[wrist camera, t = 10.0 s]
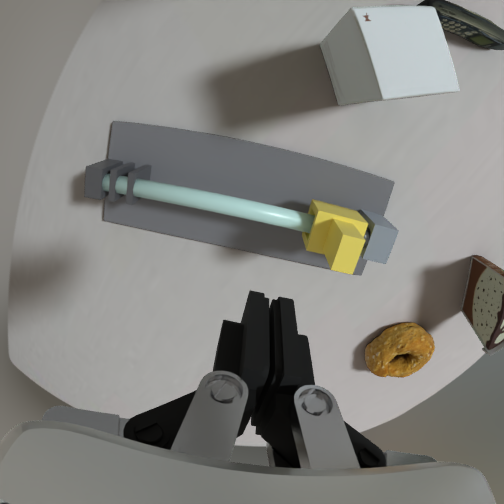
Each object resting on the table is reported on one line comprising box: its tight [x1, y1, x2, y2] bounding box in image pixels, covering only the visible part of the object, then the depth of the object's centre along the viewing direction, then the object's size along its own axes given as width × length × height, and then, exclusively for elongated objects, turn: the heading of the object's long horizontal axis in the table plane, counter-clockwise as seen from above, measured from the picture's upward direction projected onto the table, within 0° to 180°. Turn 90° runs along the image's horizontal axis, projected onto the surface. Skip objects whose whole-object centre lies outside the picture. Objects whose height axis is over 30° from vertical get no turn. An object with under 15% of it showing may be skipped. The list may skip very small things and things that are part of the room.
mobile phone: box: [417, 0, 504, 50], centre depth 21 cm, size 5×3×15 cm
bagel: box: [365, 323, 435, 377], centre depth 40 cm, size 10×11×5 cm
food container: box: [461, 255, 504, 355], centre depth 32 cm, size 12×6×10 cm, turn 8°
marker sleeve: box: [302, 199, 368, 275], centre depth 28 cm, size 4×5×8 cm
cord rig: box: [84, 121, 399, 275], centre depth 31 cm, size 12×32×6 cm, turn 78°
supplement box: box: [320, 5, 460, 105], centre depth 21 cm, size 7×7×13 cm
